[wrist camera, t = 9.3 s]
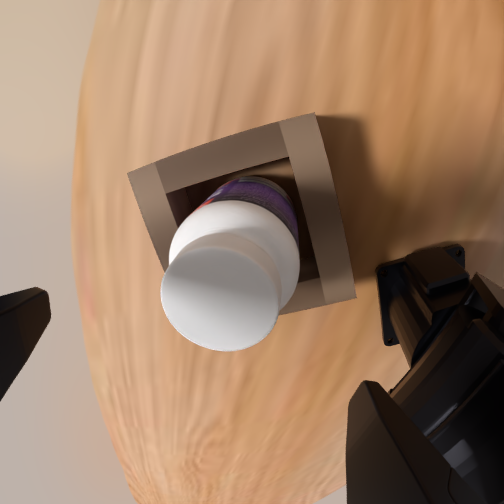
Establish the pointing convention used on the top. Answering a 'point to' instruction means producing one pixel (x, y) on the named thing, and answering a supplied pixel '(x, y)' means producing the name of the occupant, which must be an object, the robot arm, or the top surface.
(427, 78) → the top surface
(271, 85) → the top surface
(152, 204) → the socket
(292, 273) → the pill bottle
